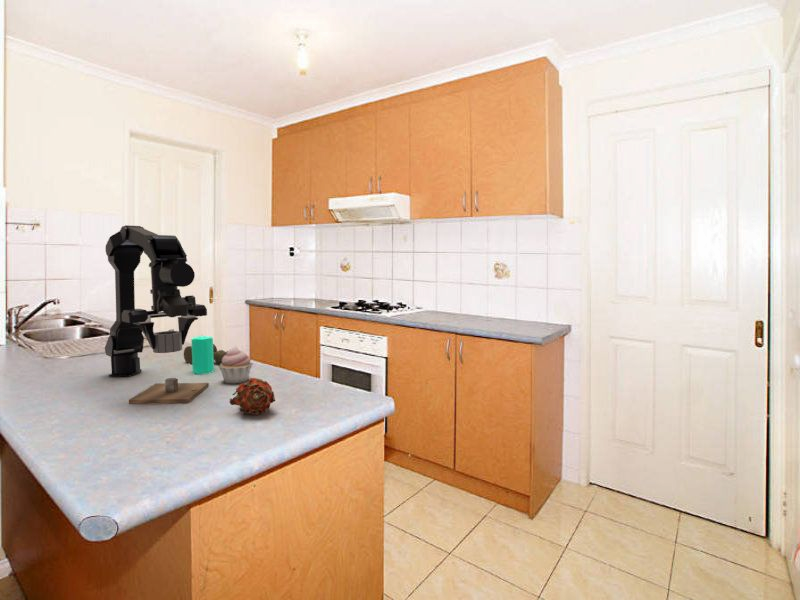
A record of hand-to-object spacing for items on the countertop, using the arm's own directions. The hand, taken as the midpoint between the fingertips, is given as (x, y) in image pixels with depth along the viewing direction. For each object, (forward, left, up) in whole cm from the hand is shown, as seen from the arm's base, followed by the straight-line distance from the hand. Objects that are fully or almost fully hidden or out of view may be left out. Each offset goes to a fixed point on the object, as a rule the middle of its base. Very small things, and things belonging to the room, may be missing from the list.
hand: (168, 346), depth 117 cm
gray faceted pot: (0, 0, -1) cm, 1 cm away
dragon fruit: (+24, -14, -13) cm, 31 cm away
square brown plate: (0, 0, -12) cm, 12 cm away
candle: (0, +23, -13) cm, 26 cm away
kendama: (-2, +35, -13) cm, 38 cm away
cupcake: (+13, +12, -13) cm, 22 cm away
